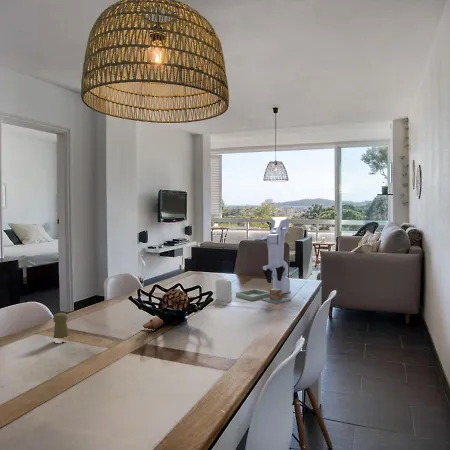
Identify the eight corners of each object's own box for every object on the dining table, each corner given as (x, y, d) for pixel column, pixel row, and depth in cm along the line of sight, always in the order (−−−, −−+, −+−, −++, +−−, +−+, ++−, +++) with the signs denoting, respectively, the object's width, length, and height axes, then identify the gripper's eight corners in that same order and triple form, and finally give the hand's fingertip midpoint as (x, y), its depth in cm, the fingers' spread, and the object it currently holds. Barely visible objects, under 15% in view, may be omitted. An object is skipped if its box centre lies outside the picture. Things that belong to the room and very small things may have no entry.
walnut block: (275, 297, 212) (274, 288, 211) (281, 299, 208) (281, 289, 208) (269, 298, 209) (269, 289, 209) (276, 300, 205) (276, 290, 205)
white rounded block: (214, 299, 214) (214, 277, 214) (221, 298, 217) (220, 276, 216) (226, 303, 206) (226, 279, 206) (233, 301, 209) (232, 278, 208)
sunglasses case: (159, 317, 182) (165, 306, 181) (170, 326, 180) (177, 315, 179) (136, 330, 166) (143, 317, 164) (149, 340, 164) (156, 327, 162)
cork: (73, 339, 156) (71, 311, 156) (62, 344, 150) (60, 316, 150) (60, 337, 158) (59, 310, 158) (49, 343, 152) (48, 315, 152)
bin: (254, 293, 228) (254, 288, 228) (271, 297, 217) (271, 292, 217) (236, 297, 219) (235, 292, 219) (252, 301, 208) (252, 296, 208)
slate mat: (276, 297, 216) (276, 295, 216) (291, 301, 207) (291, 299, 207) (261, 300, 209) (261, 298, 209) (276, 304, 201) (276, 302, 201)
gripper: (269, 258, 202) (269, 284, 203) (288, 255, 211) (289, 280, 212) (259, 257, 208) (260, 282, 209) (279, 254, 217) (279, 279, 217)
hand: (274, 281), depth 211 cm, fingers open, 7 cm apart
